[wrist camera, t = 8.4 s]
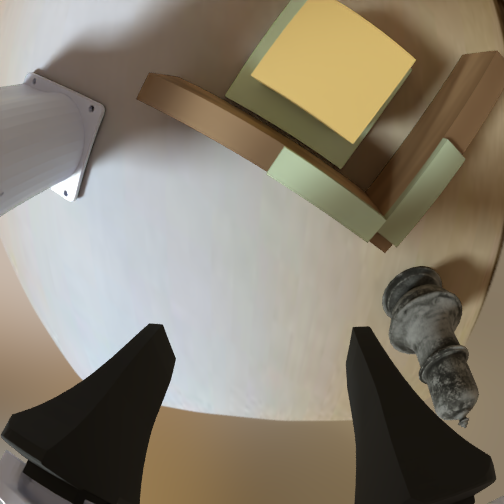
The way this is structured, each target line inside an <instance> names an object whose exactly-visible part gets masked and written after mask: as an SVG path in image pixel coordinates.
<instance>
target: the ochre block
mask: <svg viewBox="0 0 504 504" xmlns="http://www.w3.org/2000/svg"><path fill="white" fill-rule="evenodd" d="M415 61H416V60H415V59H414V58H413V57H412V56H411V55H410V54H409V53H408V52H406V51H405V50H404V49H403V48H402V47H401V46H399V45H398V44H397V43H396V42H395V41H393V40H392V39H391V38H390V37H388V36H387V35H386V34H384V33H383V32H382V31H381V30H379V29H378V28H377V27H375V26H374V25H372V24H371V23H370V22H368V21H367V20H365V19H364V18H363V17H361V16H360V15H358V14H357V13H355V12H354V11H352V10H351V9H349V8H348V7H346V6H345V5H343V4H341V3H340V2H338V1H336V0H307V1H306V3H305V4H304V5H303V6H302V7H301V9H300V10H299V11H298V12H297V14H296V15H295V16H294V17H293V19H292V20H291V21H290V22H289V24H288V25H287V26H286V27H285V29H284V30H283V31H282V33H281V34H280V35H279V37H278V38H277V39H276V41H275V42H274V43H273V45H272V46H271V47H270V49H269V50H268V51H267V53H266V54H265V56H264V57H263V58H262V60H261V61H260V63H259V64H258V65H257V67H256V68H255V70H254V71H253V73H252V74H251V76H252V77H254V78H255V79H256V80H258V81H259V82H260V83H262V84H263V85H265V86H267V87H268V88H270V89H272V90H273V91H275V92H277V93H278V94H280V95H281V96H283V97H285V98H286V99H288V100H289V101H291V102H292V103H294V104H295V105H297V106H298V107H300V108H301V109H303V110H304V111H306V112H307V113H309V114H310V115H312V116H313V117H315V118H316V119H317V120H319V121H320V122H322V123H323V124H324V125H326V126H327V127H329V128H330V129H331V130H333V131H334V132H335V133H337V134H339V135H340V136H342V137H343V138H345V139H346V140H348V141H349V142H351V143H352V144H354V142H355V141H356V140H357V138H358V137H359V136H360V135H361V133H362V132H363V131H364V129H365V128H366V127H367V125H368V124H369V123H370V121H371V120H372V119H373V117H374V116H375V115H376V113H377V112H378V111H379V109H380V108H381V107H382V105H383V104H384V103H385V101H386V100H387V99H388V97H389V96H390V95H391V93H392V92H393V91H394V89H395V88H396V87H397V85H398V84H399V83H400V81H401V80H402V79H403V77H404V76H405V75H406V73H407V72H408V70H409V69H410V68H411V66H412V65H413V64H414V62H415Z"/></svg>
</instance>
